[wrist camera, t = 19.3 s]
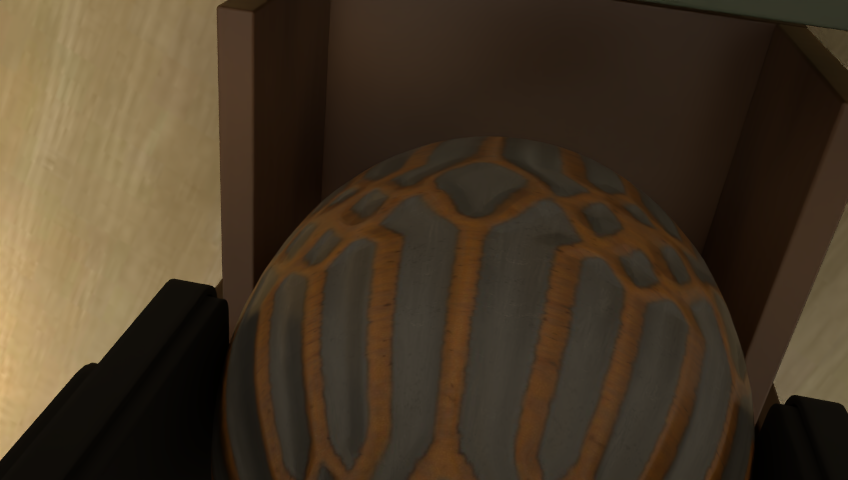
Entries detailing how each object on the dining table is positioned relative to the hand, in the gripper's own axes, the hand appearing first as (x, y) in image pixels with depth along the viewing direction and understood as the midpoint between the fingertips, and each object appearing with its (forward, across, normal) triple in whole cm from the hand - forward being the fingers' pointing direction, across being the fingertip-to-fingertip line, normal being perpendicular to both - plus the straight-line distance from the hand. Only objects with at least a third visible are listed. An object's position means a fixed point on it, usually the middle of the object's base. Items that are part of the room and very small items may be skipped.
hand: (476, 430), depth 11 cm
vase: (+4, 0, 0) cm, 4 cm away
